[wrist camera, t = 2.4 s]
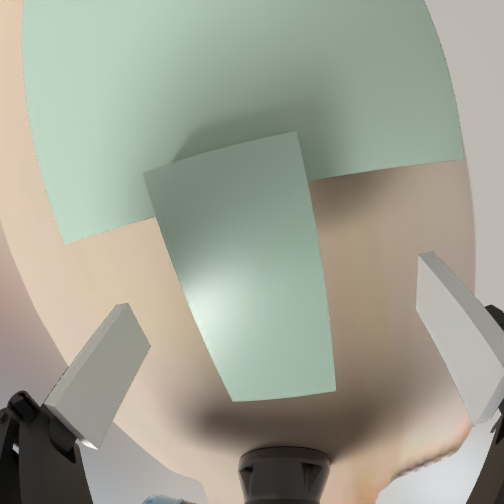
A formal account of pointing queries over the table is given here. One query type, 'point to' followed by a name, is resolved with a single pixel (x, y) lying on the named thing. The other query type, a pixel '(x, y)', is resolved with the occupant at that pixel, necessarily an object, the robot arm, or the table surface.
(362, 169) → the lid
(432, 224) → the table surface
